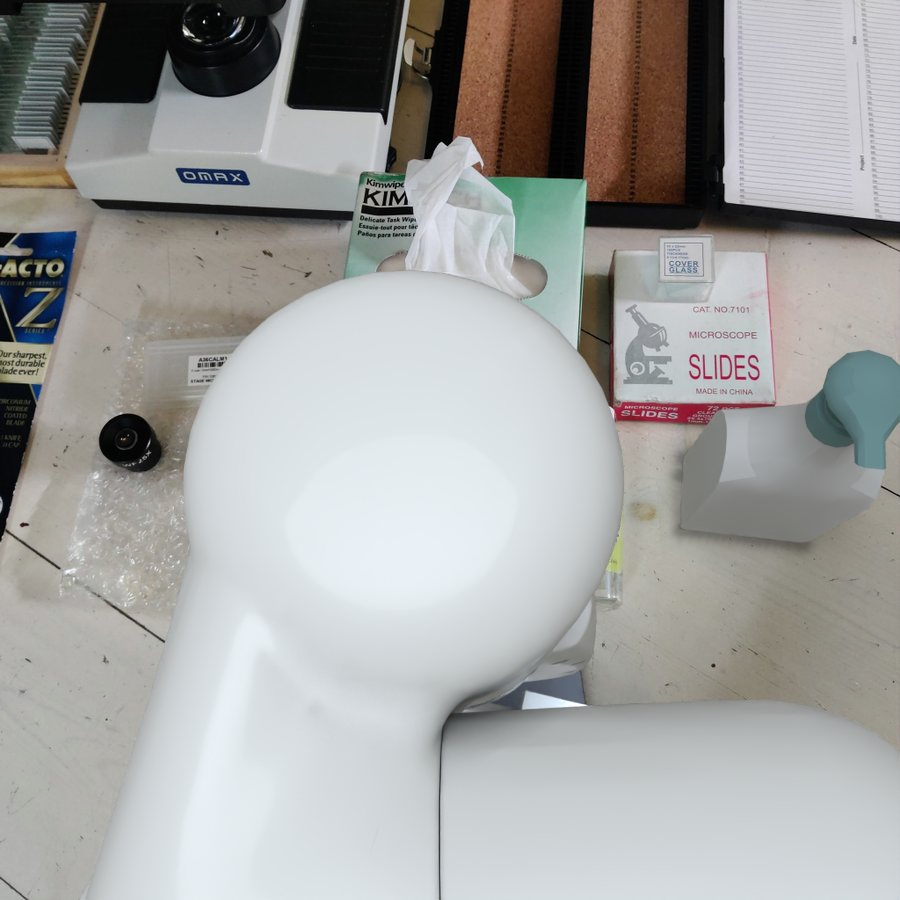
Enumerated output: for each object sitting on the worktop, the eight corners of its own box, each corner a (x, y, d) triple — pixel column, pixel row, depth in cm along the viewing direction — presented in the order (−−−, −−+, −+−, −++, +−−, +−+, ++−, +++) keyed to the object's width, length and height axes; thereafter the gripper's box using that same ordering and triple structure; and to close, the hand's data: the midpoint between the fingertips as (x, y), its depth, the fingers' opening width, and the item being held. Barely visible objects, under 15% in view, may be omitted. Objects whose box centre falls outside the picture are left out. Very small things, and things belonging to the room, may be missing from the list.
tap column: (595, 778, 66) (632, 800, 48) (485, 790, 66) (480, 817, 48) (577, 664, 69) (606, 645, 51) (472, 676, 69) (463, 661, 51)
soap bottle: (677, 548, 71) (781, 451, 45) (681, 459, 74) (782, 319, 48) (806, 563, 70) (988, 473, 44) (805, 473, 73) (978, 337, 47)
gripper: (193, 740, 23) (324, 731, 40) (721, 680, 23) (623, 697, 40) (192, 486, 25) (316, 581, 43) (669, 429, 25) (598, 548, 42)
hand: (464, 637), depth 41 cm, fingers closed
